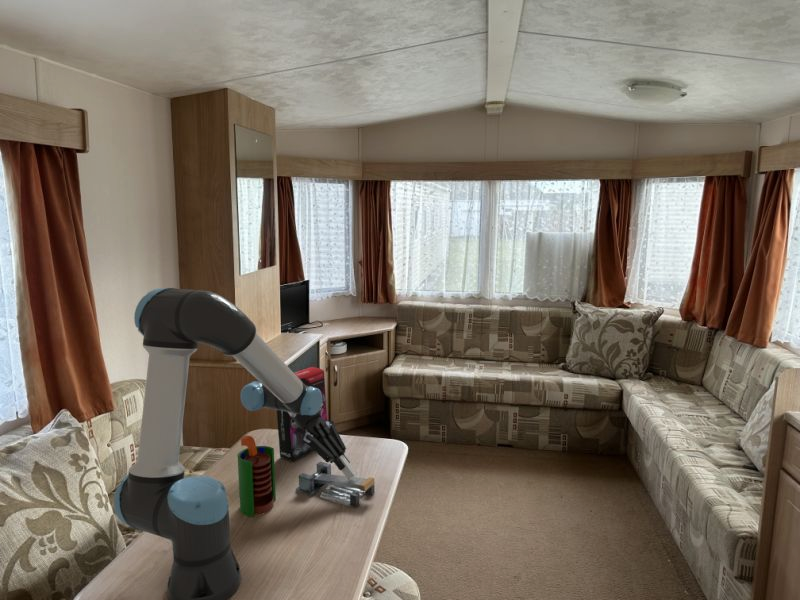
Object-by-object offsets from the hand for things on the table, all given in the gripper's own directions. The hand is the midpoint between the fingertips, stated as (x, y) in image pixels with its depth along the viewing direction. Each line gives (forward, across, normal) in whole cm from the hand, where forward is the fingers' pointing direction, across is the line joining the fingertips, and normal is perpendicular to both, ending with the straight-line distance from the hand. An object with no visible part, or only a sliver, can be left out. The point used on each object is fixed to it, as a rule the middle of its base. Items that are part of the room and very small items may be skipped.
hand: (352, 476), depth 159 cm
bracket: (0, 0, +8) cm, 8 cm away
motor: (-10, -17, +19) cm, 27 cm away
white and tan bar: (-8, 0, +13) cm, 15 cm away
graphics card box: (-17, +17, +26) cm, 36 cm away
